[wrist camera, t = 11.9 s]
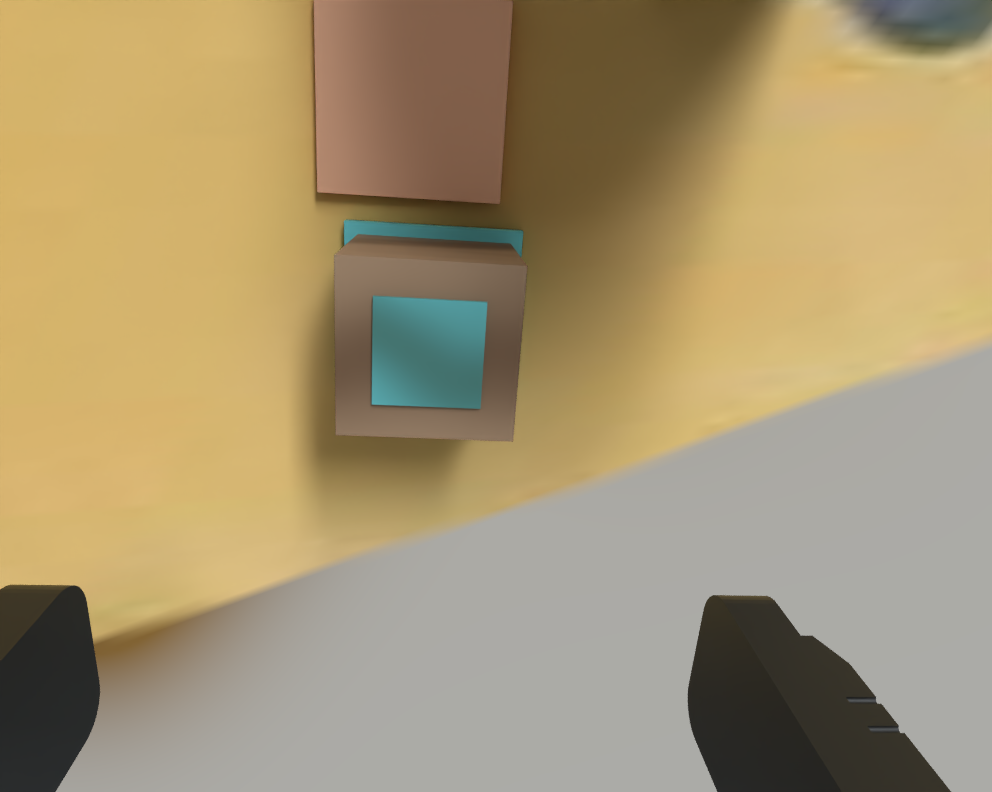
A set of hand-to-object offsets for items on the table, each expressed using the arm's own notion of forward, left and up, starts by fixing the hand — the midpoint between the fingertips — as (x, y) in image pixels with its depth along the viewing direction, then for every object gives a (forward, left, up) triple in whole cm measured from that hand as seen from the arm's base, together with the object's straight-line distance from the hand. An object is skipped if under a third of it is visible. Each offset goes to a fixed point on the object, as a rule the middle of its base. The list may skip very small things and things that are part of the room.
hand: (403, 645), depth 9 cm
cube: (0, 0, -20) cm, 20 cm away
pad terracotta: (-8, -1, -21) cm, 22 cm away
